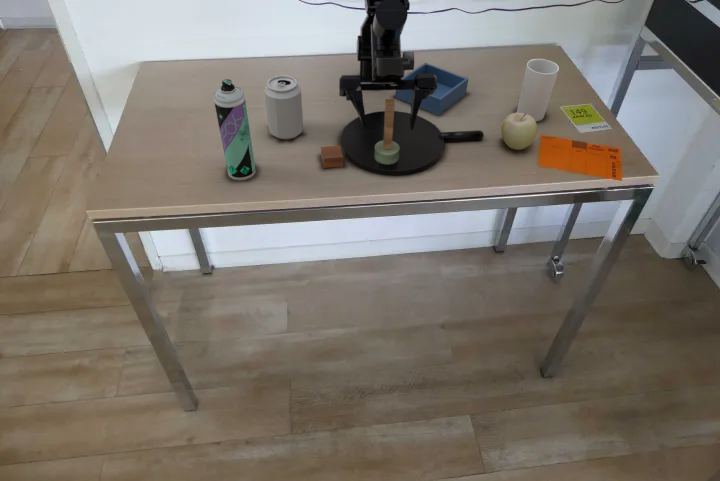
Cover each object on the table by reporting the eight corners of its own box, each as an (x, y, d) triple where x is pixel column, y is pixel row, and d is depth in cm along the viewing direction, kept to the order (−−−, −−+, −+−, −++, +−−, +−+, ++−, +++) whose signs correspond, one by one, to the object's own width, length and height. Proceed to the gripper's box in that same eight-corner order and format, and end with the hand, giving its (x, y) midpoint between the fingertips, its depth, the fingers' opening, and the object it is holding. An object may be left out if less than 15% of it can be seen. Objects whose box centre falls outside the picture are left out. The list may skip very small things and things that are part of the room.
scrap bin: (395, 97, 134) (396, 81, 131) (423, 77, 140) (425, 62, 138) (438, 115, 128) (440, 99, 125) (465, 94, 135) (468, 78, 132)
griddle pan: (345, 178, 112) (345, 170, 110) (336, 117, 127) (336, 110, 126) (497, 169, 114) (499, 161, 113) (470, 111, 130) (471, 103, 128)
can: (309, 126, 124) (306, 76, 116) (295, 144, 119) (291, 94, 111) (278, 119, 126) (273, 70, 118) (263, 137, 121) (257, 87, 113)
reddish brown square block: (321, 156, 116) (320, 146, 115) (340, 154, 117) (340, 144, 115) (323, 168, 114) (323, 158, 112) (343, 166, 114) (343, 156, 113)
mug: (549, 121, 127) (563, 73, 119) (520, 123, 127) (533, 74, 118) (534, 98, 134) (547, 51, 126) (507, 100, 134) (518, 52, 125)
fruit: (540, 148, 120) (549, 115, 114) (514, 158, 117) (523, 126, 112) (515, 130, 125) (523, 98, 119) (490, 140, 122) (497, 108, 116)
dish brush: (373, 150, 116) (375, 94, 107) (397, 149, 117) (401, 93, 108) (375, 165, 113) (378, 108, 104) (400, 164, 113) (404, 107, 104)
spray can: (229, 164, 114) (212, 74, 100) (256, 163, 115) (243, 73, 100) (226, 181, 110) (209, 89, 96) (255, 180, 111) (241, 89, 97)
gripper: (338, 35, 101) (341, 122, 101) (441, 33, 102) (444, 120, 102) (337, 55, 112) (340, 133, 112) (430, 53, 113) (433, 131, 113)
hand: (388, 129), depth 109 cm, fingers open, 9 cm apart
